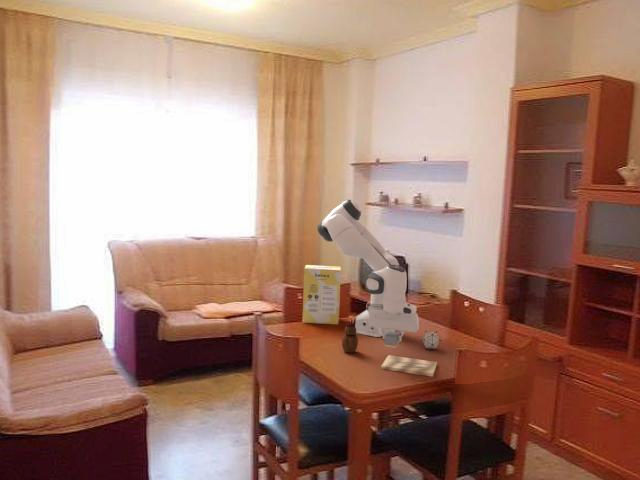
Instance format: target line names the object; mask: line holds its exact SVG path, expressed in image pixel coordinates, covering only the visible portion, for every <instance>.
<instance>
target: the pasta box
mask: <svg viewBox="0 0 640 480" xmlns="http://www.w3.org/2000/svg"><path fill="white" fill-rule="evenodd" d="M303 271H304V272H303V296H302V297H303V298H302V323H303V324H304V323H306V324H323V325H325V324H326V325H339V320H340V319H339V318H340V302H341V301H340V297H341V275H342V273H341V272H342V266H338V265H337V266H334V265H329V266H328V265H313V264H306V265H305V266H304V269H303Z"/></svg>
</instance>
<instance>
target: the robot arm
mask: <svg viewBox="0 0 640 480" xmlns="http://www.w3.org/2000/svg"><path fill="white" fill-rule="evenodd" d="M361 216H362V210H361V208H360V207H359V205H358V204H357V202H355V201H353V200H352V199H346V200H344V201H342V202H341V203H340V204H339V205H337V206H336V207H335V208H333V209H332V210H331V211H330V213H328V214H327V215H326V217H325V218H324V219H322V221H320V222H319V224H318V225H317V232H318V235H319V237H321V239H323V240H325V241H326V242H329V243H330V242H333V243H334V244H335V246H336V247H337V248H338V250H339V251H340V252H341V253H343V254H344V255H346V256H350V257H355V258H360V259H363V260H364V262H365V263H366V264H367V265H368V266H369V267H370V268H371V269H372V271H370V272H368V273H367V274H366V275H365V278H364V288H365V289H366V292H367V293H369V294H370V300H369V301H367V303H366V306H365V308H366V309H365V310H364V311H362V312H361V313H359V314H358V315H357V316H356V317H355V318H356V324H355V328H356V334H358V335H364V336H368V337H369V336H370V337H375V338H380V337H382V339H383V340H385V335H386V334H387V333H388V332H389V331H392V332H396V331H400V336H398V337H397V341H399V342H402V340H403V339H402V338H403V336H404V334H405V332H406V333H407V332H409V333H417V332H418V331H419V328H420V325H419V324H420V321H419V320H420V319H419V315H418V313H417V311H418V310H417V306H416V305H414V304H412V303H409V302H407V299H406V292H407V285H408V284H407V283H408V281H407V280H408V277H407V272H406V269H405V268H404V267H403V266H401V265H400V264H399V261H398V259H397V258H396V257H395V256H393V255H391V253H389V252H388V251H387V250H386V249H385V248H384V247H383V245H382V244H381V243H380V242H379V241H378V239H377V238H376V237H375V236H374V234H372V232H370V230H368V228H367V226H365V225H364V224H363V223H362V222H360V219H361Z"/></svg>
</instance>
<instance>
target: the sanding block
mask: <svg viewBox="0 0 640 480" xmlns="http://www.w3.org/2000/svg"><path fill="white" fill-rule="evenodd" d="M398 336H401V331H400V332H399V331H395V332H392V331H389V332H388V333H387V334H386V335H385V339H384V343H383V346H384V347H388V348H393V349H394V348H397V346H398V345H399V344H400V341H397V337H398Z"/></svg>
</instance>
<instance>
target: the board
mask: <svg viewBox="0 0 640 480" xmlns="http://www.w3.org/2000/svg"><path fill="white" fill-rule="evenodd" d="M437 366H438V362H437V361H431V360H424V359H417V358H412V357H411V358H410V357H403V356H398V355H397V356H396V355H390V354H388V355H387V357H386V358H385V360H384V361H383V363H382V365H381V366H380V368H381V370H385V371H386V370H388V371H393V372H400V373H406V374H413V375H420V376H427V377H433V378H434V374H435V372H436V368H437Z"/></svg>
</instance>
